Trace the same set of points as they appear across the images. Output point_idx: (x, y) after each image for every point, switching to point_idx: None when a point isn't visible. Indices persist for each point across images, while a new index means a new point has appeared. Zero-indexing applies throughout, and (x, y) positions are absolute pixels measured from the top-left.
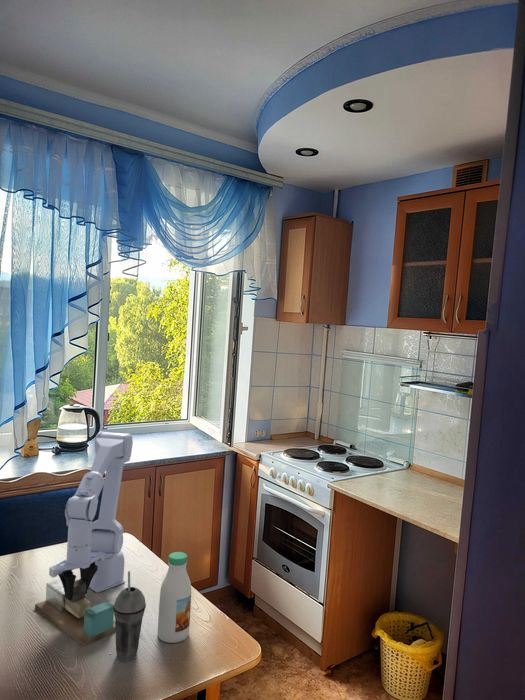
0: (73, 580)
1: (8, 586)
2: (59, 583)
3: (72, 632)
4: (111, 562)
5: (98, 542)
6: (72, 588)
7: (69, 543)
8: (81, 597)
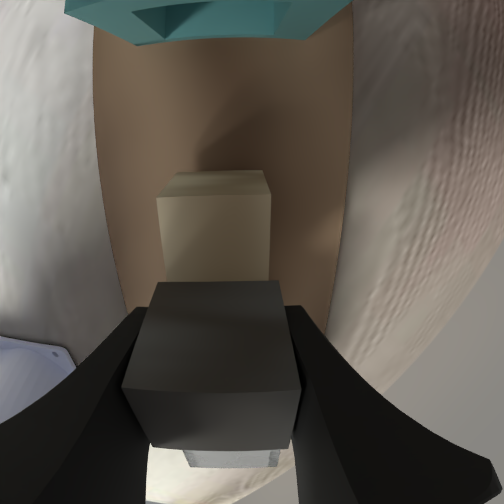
0: (374, 465)
1: (281, 470)
2: (230, 453)
3: (350, 91)
4: None
5: None
6: (322, 376)
7: None
8: (193, 291)
